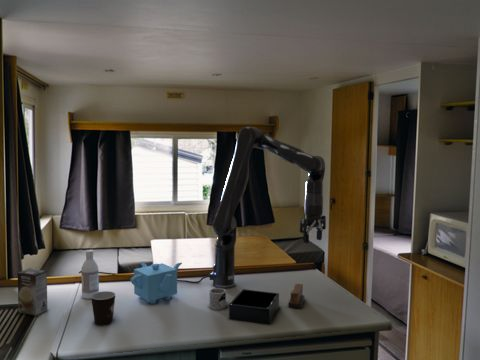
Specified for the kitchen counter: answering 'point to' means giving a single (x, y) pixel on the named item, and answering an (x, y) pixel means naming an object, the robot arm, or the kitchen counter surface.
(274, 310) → the black open box
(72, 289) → the kitchen counter surface
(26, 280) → the coffee box
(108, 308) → the coffee mug
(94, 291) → the bath foam
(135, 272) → the teakettle
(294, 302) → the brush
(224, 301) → the mug
